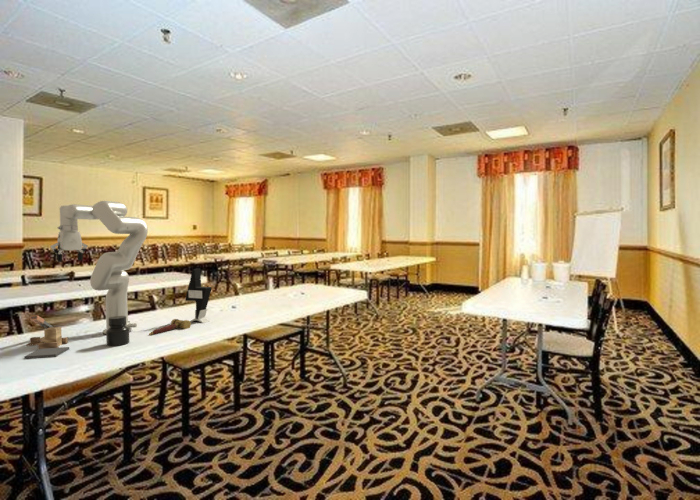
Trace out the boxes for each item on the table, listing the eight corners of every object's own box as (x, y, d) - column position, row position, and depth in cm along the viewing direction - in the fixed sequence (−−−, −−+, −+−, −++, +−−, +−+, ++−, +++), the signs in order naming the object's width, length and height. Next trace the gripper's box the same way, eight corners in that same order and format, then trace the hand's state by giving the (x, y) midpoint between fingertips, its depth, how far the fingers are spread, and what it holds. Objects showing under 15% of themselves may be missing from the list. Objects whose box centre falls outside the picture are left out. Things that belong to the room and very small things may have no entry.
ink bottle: (132, 340, 181) (131, 314, 181) (128, 345, 173) (127, 318, 173) (108, 342, 178) (107, 316, 178) (103, 347, 170) (102, 320, 170)
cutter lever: (52, 329, 189) (53, 325, 189) (36, 319, 176) (37, 315, 176) (46, 329, 188) (47, 325, 189) (29, 319, 175) (30, 315, 176)
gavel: (155, 330, 188) (141, 328, 192) (156, 340, 188) (142, 337, 193) (190, 319, 206) (177, 318, 211) (191, 327, 207) (178, 326, 211)
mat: (69, 349, 168) (69, 346, 168) (55, 356, 157) (55, 354, 157) (40, 351, 165) (39, 348, 165) (24, 358, 155) (24, 356, 155)
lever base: (59, 335, 193) (59, 327, 193) (39, 344, 175) (38, 336, 175) (48, 335, 192) (48, 327, 192) (26, 345, 174) (26, 336, 174)
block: (61, 344, 176) (61, 326, 175) (56, 347, 171) (55, 329, 171) (50, 345, 175) (49, 327, 174) (44, 347, 170) (44, 329, 170)
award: (185, 321, 222) (184, 268, 221) (192, 319, 227) (191, 268, 226) (206, 323, 216) (205, 269, 216) (212, 321, 221) (211, 268, 220)
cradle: (67, 342, 178) (67, 337, 178) (56, 348, 169) (56, 342, 169) (50, 343, 177) (50, 338, 177) (38, 349, 168) (38, 343, 167)
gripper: (54, 228, 198) (55, 262, 198) (90, 229, 213) (91, 260, 214) (46, 228, 201) (47, 262, 202) (82, 229, 217) (83, 260, 217)
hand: (70, 261), depth 208 cm, fingers open, 9 cm apart
